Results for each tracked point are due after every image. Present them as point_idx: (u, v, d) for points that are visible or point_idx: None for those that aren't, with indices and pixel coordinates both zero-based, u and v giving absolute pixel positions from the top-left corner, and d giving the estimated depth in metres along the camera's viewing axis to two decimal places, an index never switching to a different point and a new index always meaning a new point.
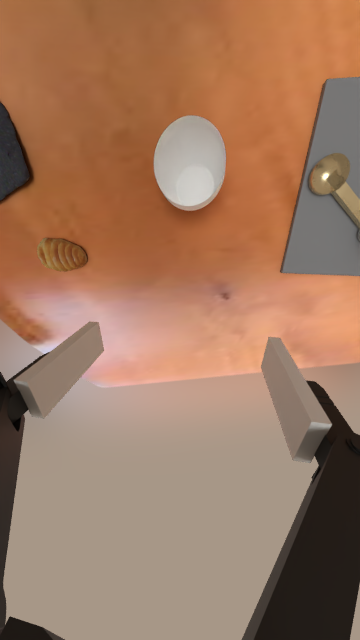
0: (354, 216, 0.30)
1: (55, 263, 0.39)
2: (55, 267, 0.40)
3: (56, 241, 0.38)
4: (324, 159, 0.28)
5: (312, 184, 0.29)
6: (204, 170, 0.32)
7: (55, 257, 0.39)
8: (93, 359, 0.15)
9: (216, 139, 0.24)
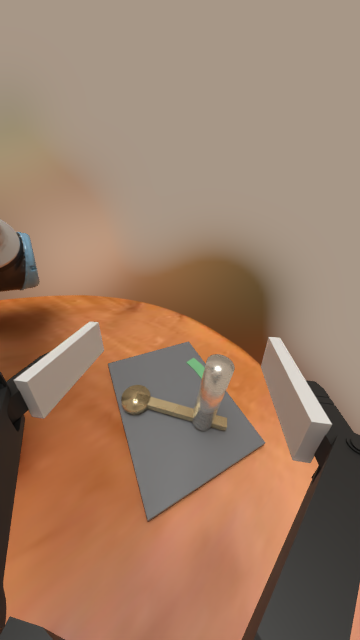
0: (177, 414, 0.32)
1: None
2: None
3: None
4: (125, 391, 0.34)
5: (125, 408, 0.32)
6: None
7: None
8: (93, 359, 0.15)
9: None
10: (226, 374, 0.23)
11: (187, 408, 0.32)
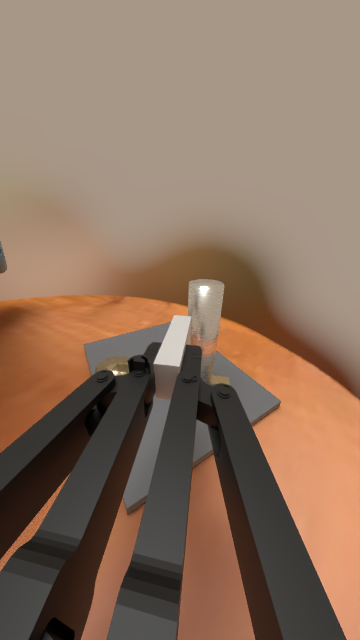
0: None
1: None
2: None
3: None
4: (101, 363, 0.27)
5: None
6: None
7: None
8: None
9: None
10: (214, 288, 0.18)
11: None
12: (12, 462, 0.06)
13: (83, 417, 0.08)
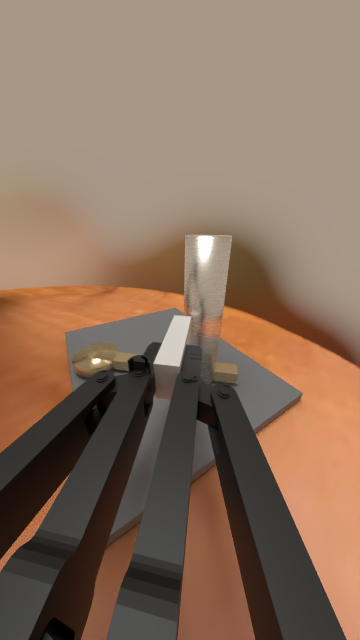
0: None
1: None
2: None
3: None
4: (80, 350, 0.23)
5: (77, 367, 0.20)
6: None
7: None
8: None
9: None
10: (218, 236, 0.13)
11: None
12: (12, 462, 0.06)
13: (83, 417, 0.08)
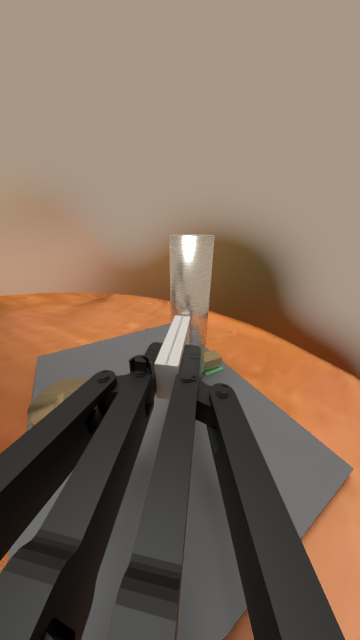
0: None
1: None
2: None
3: None
4: (33, 403, 0.16)
5: None
6: None
7: None
8: None
9: None
10: (209, 235, 0.14)
11: None
12: (13, 462, 0.06)
13: (84, 417, 0.08)
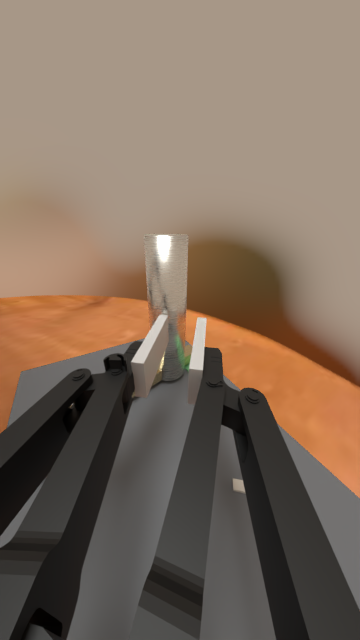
0: None
1: None
2: None
3: None
4: None
5: None
6: None
7: None
8: (164, 349, 0.16)
9: None
10: (184, 235, 0.15)
11: None
12: None
13: (61, 414, 0.08)
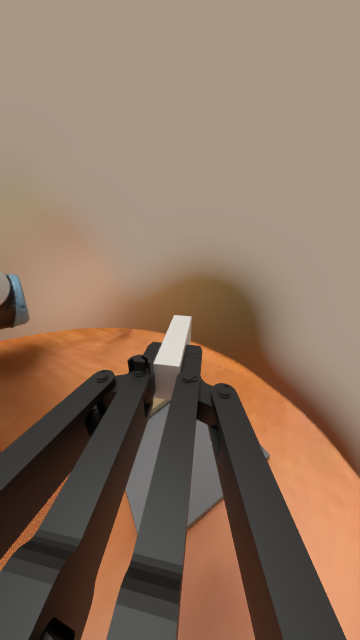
0: None
1: None
2: None
3: None
4: None
5: None
6: None
7: None
8: None
9: None
10: None
11: None
12: (12, 462, 0.06)
13: (83, 417, 0.08)
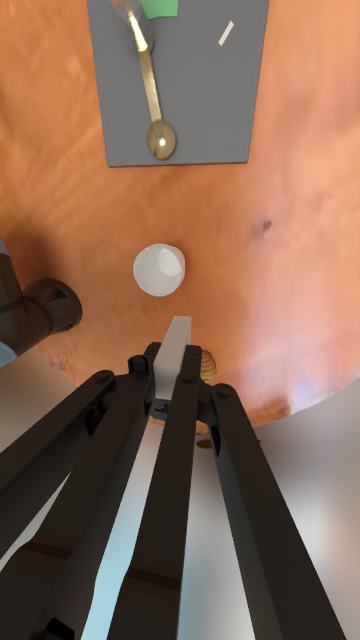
0: (153, 73, 0.29)
1: (209, 373, 0.52)
2: (212, 374, 0.52)
3: None
4: (161, 156, 0.33)
5: (174, 141, 0.32)
6: (160, 254, 0.43)
7: (204, 372, 0.52)
8: None
9: (143, 251, 0.34)
10: None
11: (141, 62, 0.28)
12: (12, 462, 0.06)
13: (83, 417, 0.08)
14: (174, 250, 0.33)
